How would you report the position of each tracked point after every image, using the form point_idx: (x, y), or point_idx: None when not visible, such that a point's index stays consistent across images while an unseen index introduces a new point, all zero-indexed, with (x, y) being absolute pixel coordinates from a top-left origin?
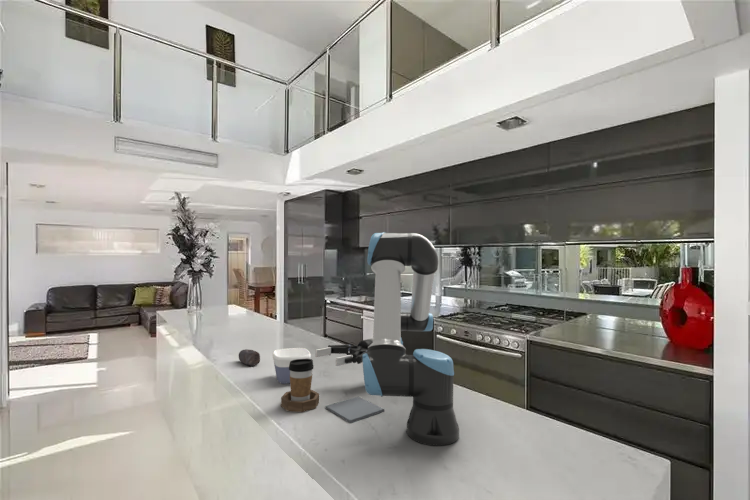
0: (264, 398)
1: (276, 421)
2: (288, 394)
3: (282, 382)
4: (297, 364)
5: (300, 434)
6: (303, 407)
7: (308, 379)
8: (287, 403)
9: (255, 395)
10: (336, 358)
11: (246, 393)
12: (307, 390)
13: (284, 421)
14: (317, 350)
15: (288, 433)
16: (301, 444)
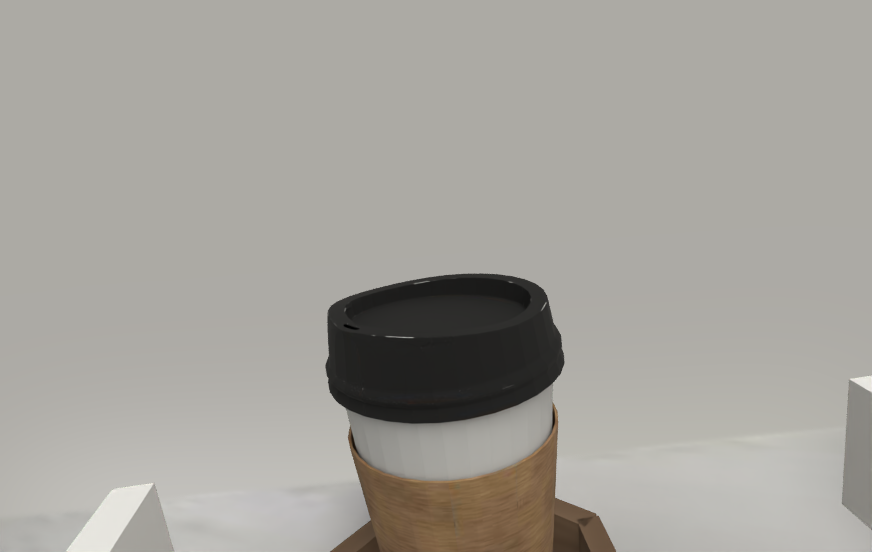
0: (693, 486)
1: (334, 484)
2: (580, 537)
3: None
4: (375, 289)
5: None
6: None
7: (355, 463)
8: None
9: (763, 459)
10: (132, 490)
11: (810, 433)
12: (380, 548)
13: (304, 508)
14: (865, 398)
15: (183, 498)
16: (54, 514)
